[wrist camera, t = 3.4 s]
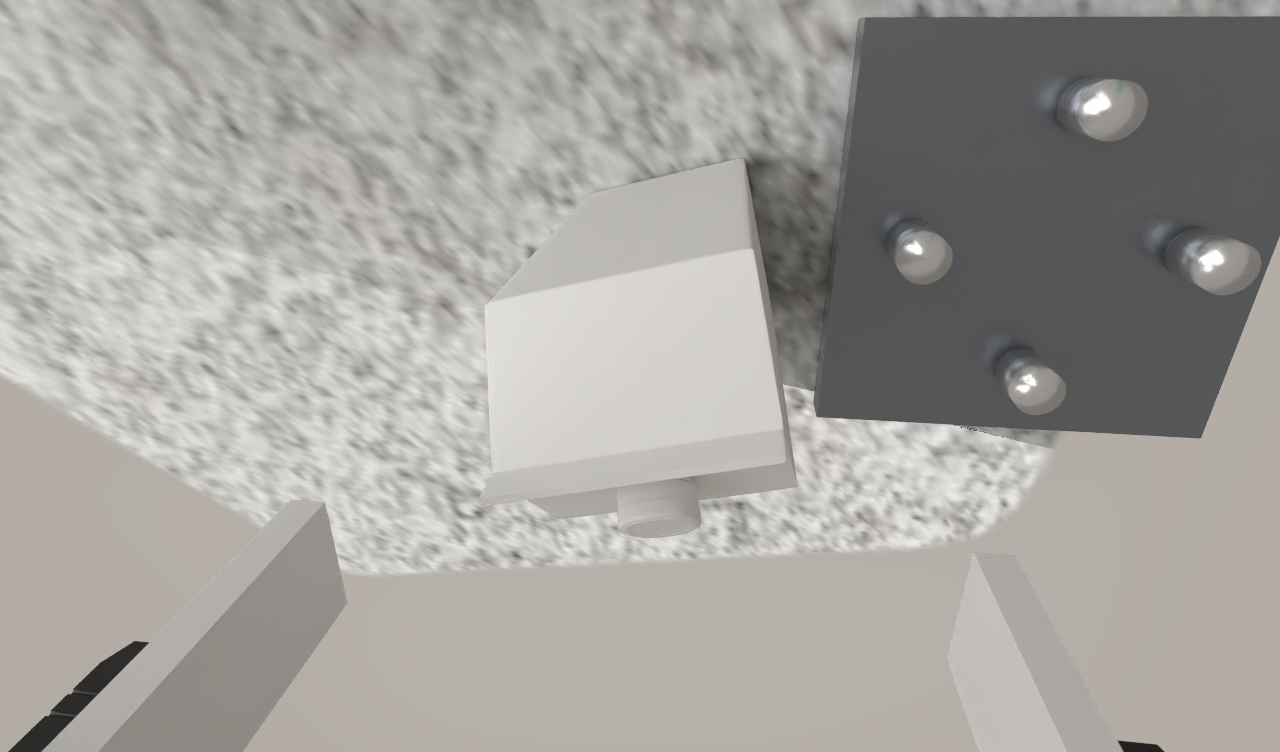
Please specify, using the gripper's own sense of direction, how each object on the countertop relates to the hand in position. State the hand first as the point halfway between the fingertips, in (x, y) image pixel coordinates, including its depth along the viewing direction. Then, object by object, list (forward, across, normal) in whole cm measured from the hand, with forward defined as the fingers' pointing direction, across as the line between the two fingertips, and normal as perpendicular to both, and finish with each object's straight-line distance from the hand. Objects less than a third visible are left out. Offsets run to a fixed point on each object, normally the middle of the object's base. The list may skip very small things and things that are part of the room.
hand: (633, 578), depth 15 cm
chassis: (+21, +15, +2) cm, 26 cm away
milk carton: (+21, 0, +1) cm, 21 cm away
